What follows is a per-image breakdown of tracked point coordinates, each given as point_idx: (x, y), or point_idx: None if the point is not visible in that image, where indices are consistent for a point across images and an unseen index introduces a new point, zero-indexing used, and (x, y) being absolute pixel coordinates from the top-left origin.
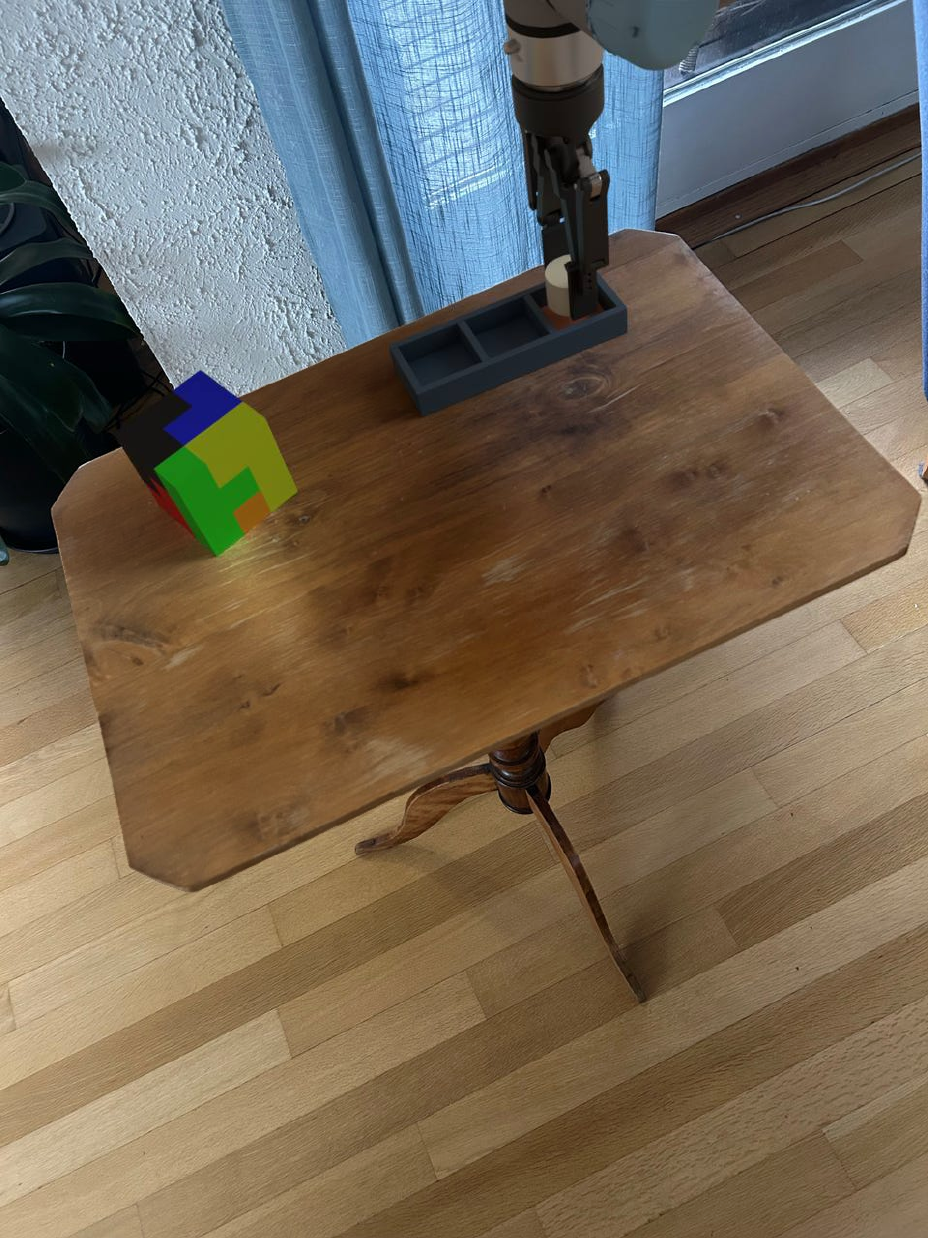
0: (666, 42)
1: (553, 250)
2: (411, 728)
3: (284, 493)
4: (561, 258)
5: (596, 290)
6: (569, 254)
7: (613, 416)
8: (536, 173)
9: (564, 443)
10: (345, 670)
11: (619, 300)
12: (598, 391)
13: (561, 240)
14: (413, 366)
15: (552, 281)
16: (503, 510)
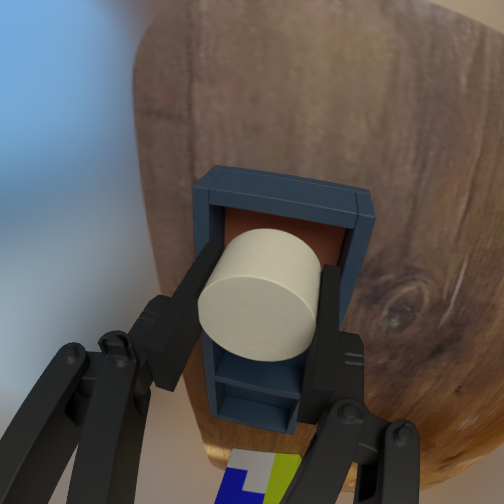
0: None
1: (190, 338)
2: (470, 457)
3: (299, 463)
4: (204, 311)
5: (339, 306)
6: (198, 291)
7: (469, 310)
8: (60, 460)
9: (442, 361)
10: (423, 466)
11: (344, 214)
12: (427, 300)
13: (182, 339)
14: (232, 392)
15: (260, 357)
16: (438, 412)
